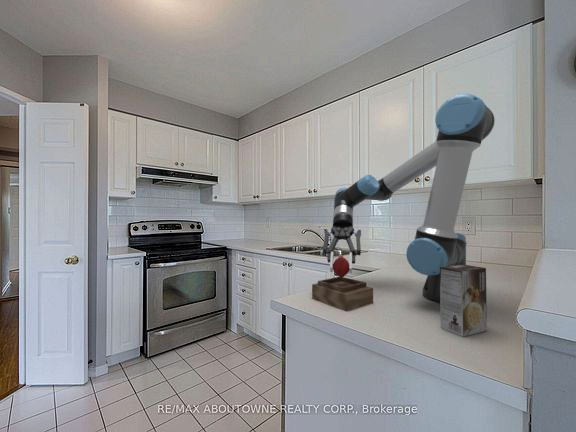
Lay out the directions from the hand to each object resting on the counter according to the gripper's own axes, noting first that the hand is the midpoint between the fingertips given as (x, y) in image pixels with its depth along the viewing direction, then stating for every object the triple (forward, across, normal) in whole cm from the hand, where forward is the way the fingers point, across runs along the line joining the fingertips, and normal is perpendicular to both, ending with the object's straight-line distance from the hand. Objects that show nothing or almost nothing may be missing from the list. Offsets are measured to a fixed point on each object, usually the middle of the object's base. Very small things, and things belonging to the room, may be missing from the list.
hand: (340, 270), depth 91 cm
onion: (0, 0, -5) cm, 5 cm away
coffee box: (+18, -32, +2) cm, 36 cm away
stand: (+5, 0, -10) cm, 12 cm away
